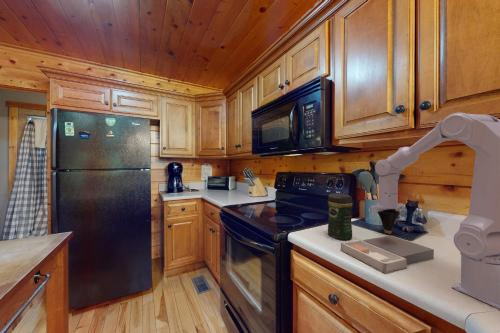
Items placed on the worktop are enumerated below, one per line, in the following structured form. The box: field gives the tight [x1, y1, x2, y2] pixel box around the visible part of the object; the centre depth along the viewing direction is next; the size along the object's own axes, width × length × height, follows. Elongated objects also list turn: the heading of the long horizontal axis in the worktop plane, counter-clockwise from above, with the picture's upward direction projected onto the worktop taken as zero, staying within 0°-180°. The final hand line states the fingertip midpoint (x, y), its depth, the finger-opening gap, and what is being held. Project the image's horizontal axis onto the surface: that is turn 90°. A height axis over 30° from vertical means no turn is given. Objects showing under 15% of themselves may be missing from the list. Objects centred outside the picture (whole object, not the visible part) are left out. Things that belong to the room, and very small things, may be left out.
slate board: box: [362, 234, 435, 266], centre depth 70 cm, size 14×15×3 cm
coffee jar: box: [327, 192, 353, 241], centre depth 86 cm, size 10×8×19 cm
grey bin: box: [340, 239, 408, 275], centre depth 66 cm, size 16×9×3 cm, turn 20°
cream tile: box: [367, 252, 390, 262], centre depth 62 cm, size 4×4×2 cm
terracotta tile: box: [351, 244, 369, 254], centre depth 69 cm, size 4×4×2 cm
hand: (387, 230), depth 73 cm, fingers closed
